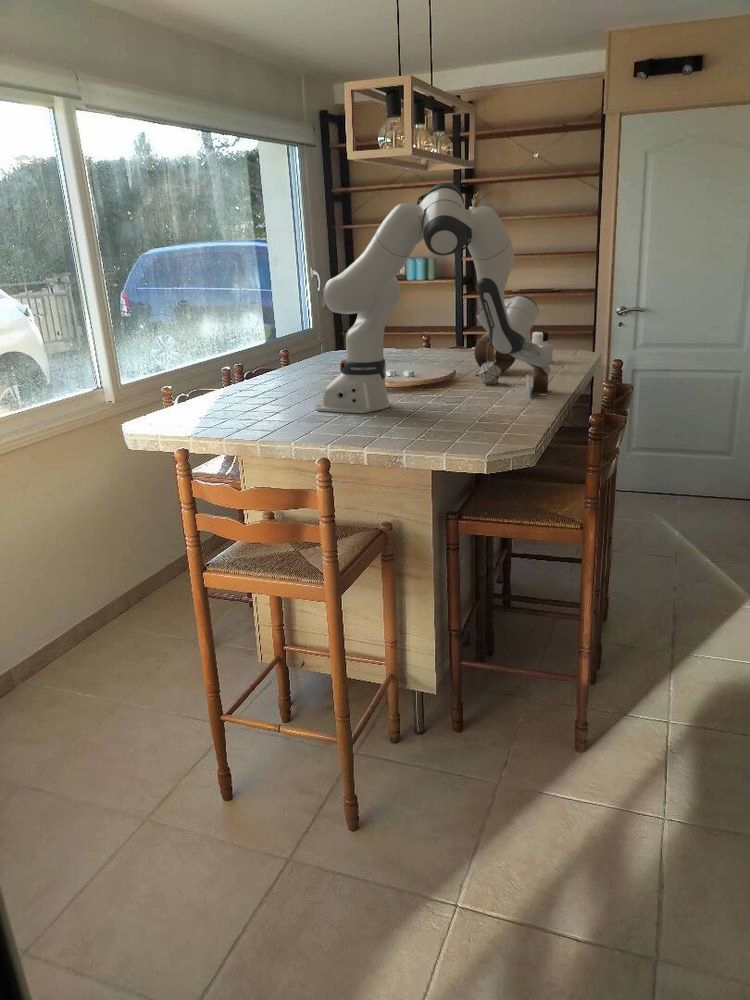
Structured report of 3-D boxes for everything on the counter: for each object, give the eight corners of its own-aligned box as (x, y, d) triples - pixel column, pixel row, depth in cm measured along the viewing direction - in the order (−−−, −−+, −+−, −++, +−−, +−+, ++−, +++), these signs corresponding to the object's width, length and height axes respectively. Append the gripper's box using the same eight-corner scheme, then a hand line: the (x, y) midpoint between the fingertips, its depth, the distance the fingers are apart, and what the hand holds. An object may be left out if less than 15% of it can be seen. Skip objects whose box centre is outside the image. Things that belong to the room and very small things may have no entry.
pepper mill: (533, 392, 240) (534, 351, 236) (532, 390, 244) (533, 350, 240) (548, 392, 239) (549, 351, 235) (547, 390, 244) (548, 349, 240)
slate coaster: (529, 395, 239) (529, 393, 239) (528, 390, 246) (528, 389, 246) (552, 395, 238) (552, 393, 238) (550, 390, 245) (550, 389, 245)
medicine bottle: (537, 361, 297) (539, 330, 293) (552, 363, 292) (554, 331, 288) (525, 363, 293) (527, 332, 289) (540, 365, 288) (542, 333, 284)
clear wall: (528, 398, 234) (529, 386, 233) (526, 387, 251) (526, 375, 249) (530, 398, 234) (531, 386, 233) (528, 387, 251) (528, 375, 249)
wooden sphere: (488, 367, 286) (489, 327, 281) (523, 371, 277) (525, 330, 272) (466, 374, 276) (466, 332, 271) (501, 378, 266) (502, 335, 261)
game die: (494, 395, 257) (506, 375, 250) (471, 387, 256) (482, 366, 249) (496, 378, 263) (508, 357, 255) (473, 370, 262) (484, 349, 254)
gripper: (538, 336, 224) (566, 367, 230) (508, 328, 243) (534, 357, 249) (524, 353, 225) (552, 383, 230) (495, 343, 243) (521, 372, 249)
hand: (543, 369), depth 240 cm, fingers open, 6 cm apart
